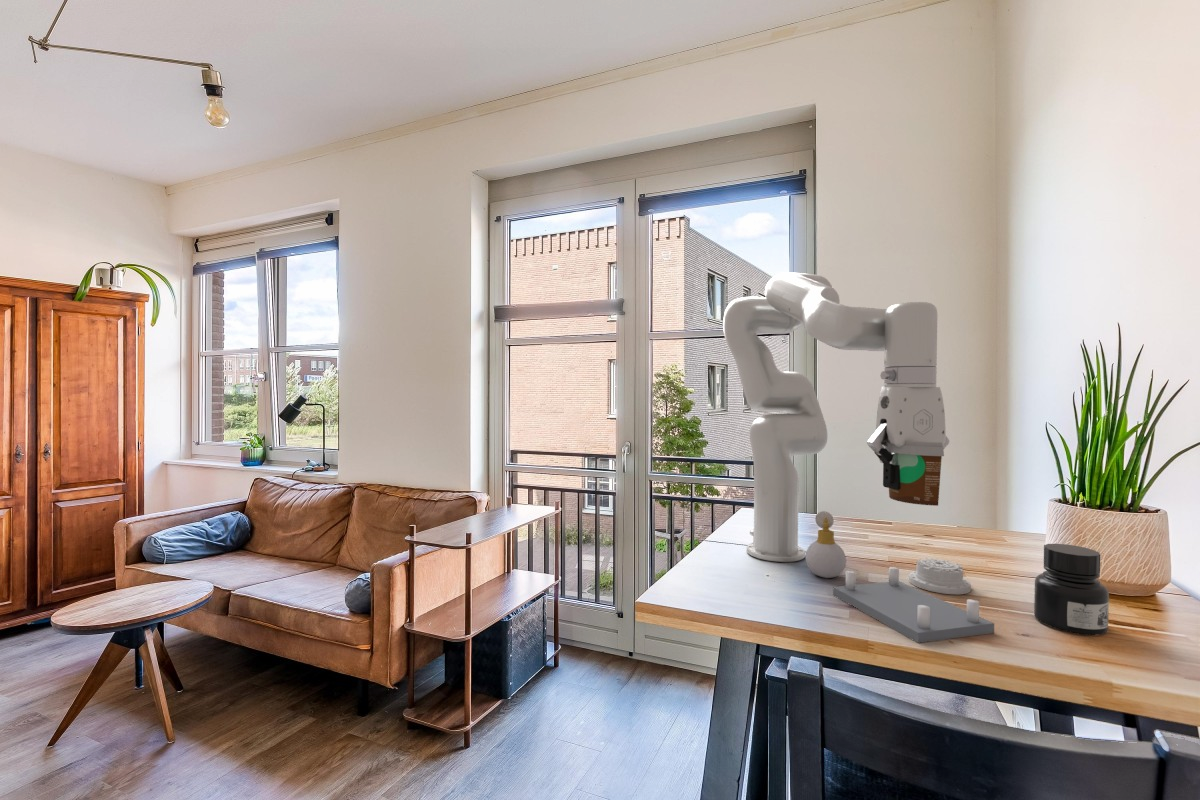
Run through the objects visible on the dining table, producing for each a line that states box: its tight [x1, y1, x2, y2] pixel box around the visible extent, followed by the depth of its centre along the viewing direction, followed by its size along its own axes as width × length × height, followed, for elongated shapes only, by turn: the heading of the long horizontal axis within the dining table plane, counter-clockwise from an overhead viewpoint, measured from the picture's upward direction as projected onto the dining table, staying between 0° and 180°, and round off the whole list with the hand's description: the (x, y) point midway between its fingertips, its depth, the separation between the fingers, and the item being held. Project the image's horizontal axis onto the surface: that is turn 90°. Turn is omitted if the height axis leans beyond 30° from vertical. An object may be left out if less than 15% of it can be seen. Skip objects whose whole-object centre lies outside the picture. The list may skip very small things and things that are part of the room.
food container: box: [882, 440, 945, 507], centre depth 90 cm, size 12×6×10 cm, turn 175°
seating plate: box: [832, 566, 995, 644], centre depth 91 cm, size 19×14×4 cm
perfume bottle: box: [805, 510, 847, 579], centre depth 110 cm, size 8×10×12 cm
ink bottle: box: [1033, 543, 1110, 636], centre depth 86 cm, size 10×9×12 cm
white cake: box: [908, 557, 972, 595], centre depth 104 cm, size 10×4×10 cm
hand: (908, 486), depth 91 cm, fingers closed on food container, 5 cm apart
